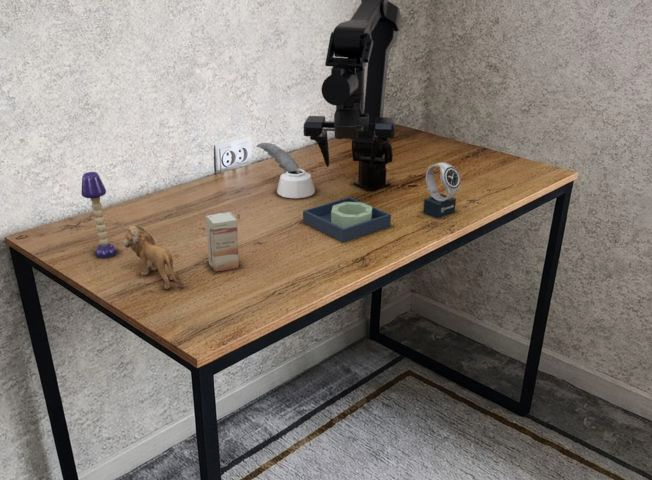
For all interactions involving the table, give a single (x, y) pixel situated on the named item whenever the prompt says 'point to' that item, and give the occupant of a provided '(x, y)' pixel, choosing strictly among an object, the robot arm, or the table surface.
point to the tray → (322, 221)
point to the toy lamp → (97, 211)
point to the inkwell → (290, 174)
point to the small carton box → (222, 241)
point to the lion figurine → (150, 253)
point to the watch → (440, 202)
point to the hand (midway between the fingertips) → (349, 166)
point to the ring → (350, 214)
